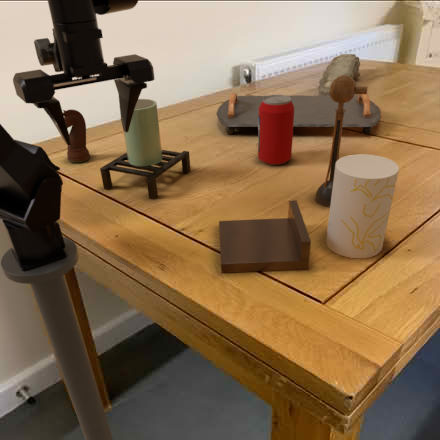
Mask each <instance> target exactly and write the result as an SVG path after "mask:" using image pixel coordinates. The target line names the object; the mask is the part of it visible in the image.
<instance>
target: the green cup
mask: <svg viewBox="0 0 440 440" xmlns="http://www.w3.org/2000/svg"><path fill="white" fill-rule="evenodd" d="M158 113H159V112H158V104H157V101H156V100H153V99H151V98H150V99H149V98H138V101H137V103H136V106H135V109H134V113H133V116H132V120H131V123H130V127H129V131H128V132H124V130H122V131H123V137H124V143H125V149H126V152H127V156H128V161H127V162H129V163H130V164H131V165H134V166H155V164H157V163H159V162H161V161H162V159H163V156H164V155H163V156H162V150H163V149H162V139H161V138H162V137H161V132H160V130H161V129H160V122H159V121H160V120H159V114H158ZM162 162H163V161H162Z"/></svg>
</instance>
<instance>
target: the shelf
mask: <svg viewBox="0 0 440 440" xmlns="http://www.w3.org/2000/svg"><path fill="white" fill-rule="evenodd" d="M218 232H219V250H220V251H219V253H220V271H221V272H220V273H221V274H226V273H228V274H229V273H248V272H250V273H252V272H271V271H292V270H297V271H298V270H309V264H310V255H311V243H312V241H311V238H310V235H309V232H308V229H307V226H306V223H305V220H304V218H303V215H302V212H301V209H300V206H299V203H298V200H296V199H295V200H288V211H287V217H281V218H260V219H259V218H257V219H256V218H255V219H233V220H219V221H218Z"/></svg>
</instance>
